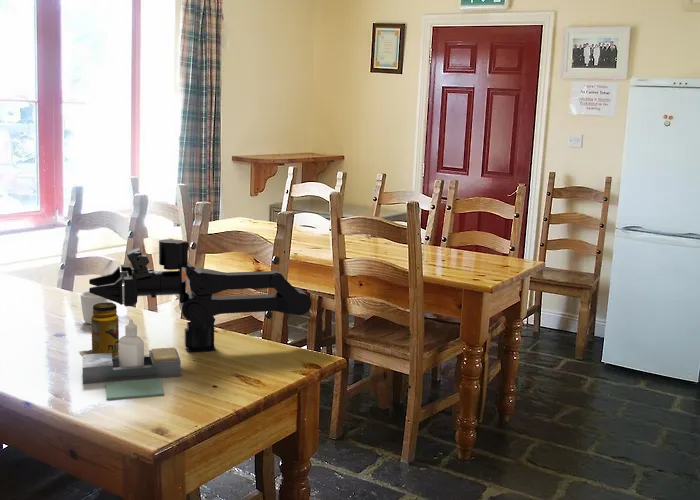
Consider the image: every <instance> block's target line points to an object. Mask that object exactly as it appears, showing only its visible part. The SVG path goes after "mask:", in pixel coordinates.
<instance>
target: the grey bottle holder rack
mask: <svg viewBox="0 0 700 500" xmlns="http://www.w3.org/2000/svg"><path fill="white" fill-rule="evenodd" d="M181 363H182V362H181V358H180V355H179V352H178V350H177V348H175V347H162V348H161V347H159V348H151V349H149V350H148V354H144V366H131V367H119V357H112V353H99V354H84V355H83V356H82V366H81V367H82V369H81V370H82V384H83V385H84V384H98V383H107V382H120V381H133V380H146V379H159V378H160V379H163V378H173V377H175V378H176V377H181V374H182V373H181V372H182V370H181V369H182V367H181V366H182V364H181Z"/></svg>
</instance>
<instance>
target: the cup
mask: <svg viewBox="0 0 700 500" xmlns="http://www.w3.org/2000/svg"><path fill="white" fill-rule="evenodd" d="M79 295H80V305H81V311H82V318H83V321H84V323H86V324H90V325H91V318H92V316H93V306H94V305H95V304H98V303H114V301H111V300H109V299H106V298H103V297H100V296H98V295H95V294H92V293H90V292H89V290H88V291H84V292H81V293H80V294H79Z"/></svg>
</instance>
